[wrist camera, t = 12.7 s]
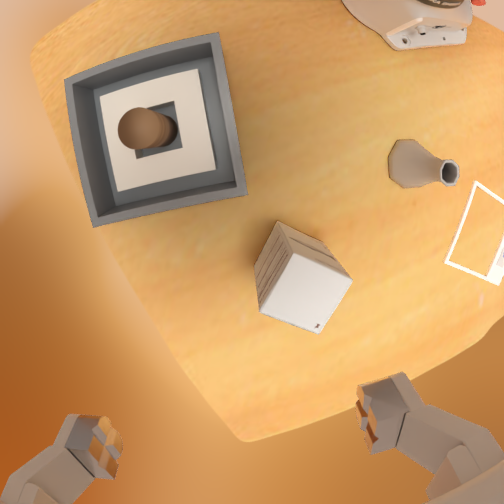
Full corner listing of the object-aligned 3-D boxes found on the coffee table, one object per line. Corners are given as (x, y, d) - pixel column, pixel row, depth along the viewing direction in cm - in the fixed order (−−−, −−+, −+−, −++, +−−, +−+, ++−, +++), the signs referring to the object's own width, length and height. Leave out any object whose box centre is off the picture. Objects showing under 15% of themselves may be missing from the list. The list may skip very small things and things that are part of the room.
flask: (392, 131, 37) (433, 132, 28) (432, 147, 38) (476, 153, 29) (381, 181, 40) (419, 195, 30) (422, 194, 40) (463, 210, 31)
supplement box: (324, 241, 42) (356, 280, 30) (298, 286, 44) (319, 337, 32) (276, 217, 41) (294, 251, 29) (251, 265, 43) (257, 314, 31)
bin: (221, 50, 33) (218, 32, 26) (245, 185, 39) (248, 194, 32) (89, 86, 33) (64, 79, 26) (113, 213, 39) (93, 227, 33)
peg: (174, 111, 34) (154, 102, 25) (180, 142, 36) (161, 143, 26) (143, 119, 34) (114, 114, 25) (149, 150, 36) (122, 154, 26)
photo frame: (499, 286, 46) (444, 263, 44) (496, 283, 47) (441, 261, 45) (526, 217, 42) (476, 180, 39) (522, 216, 43) (471, 179, 40)
